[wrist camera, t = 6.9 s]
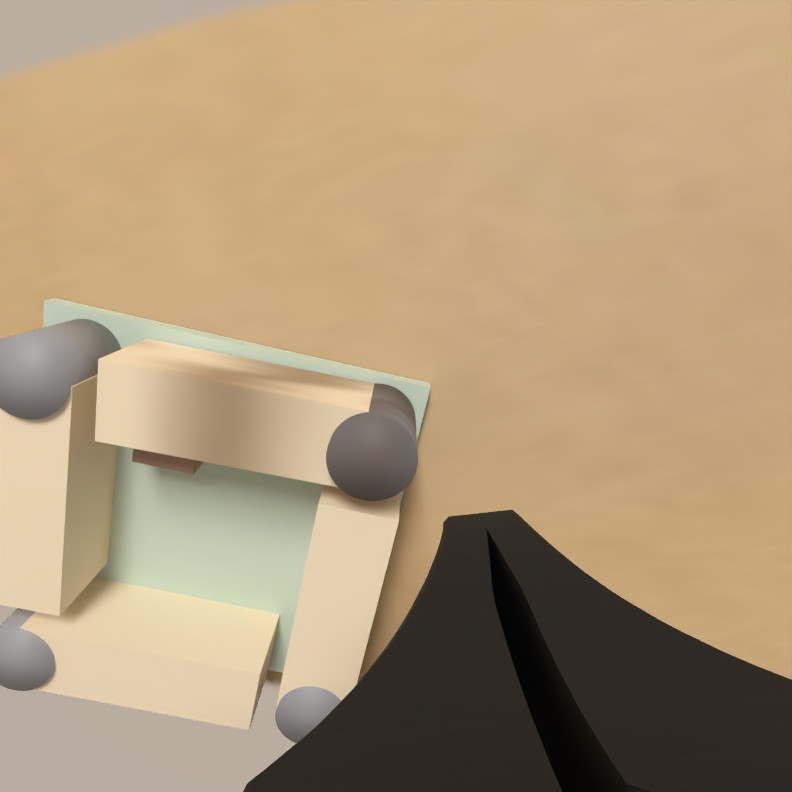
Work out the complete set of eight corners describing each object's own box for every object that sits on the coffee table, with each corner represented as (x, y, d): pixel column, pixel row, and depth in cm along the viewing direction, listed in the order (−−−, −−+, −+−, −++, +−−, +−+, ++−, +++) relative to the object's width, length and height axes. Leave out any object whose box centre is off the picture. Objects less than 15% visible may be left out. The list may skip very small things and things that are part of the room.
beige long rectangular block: (423, 391, 18) (426, 426, 15) (407, 461, 19) (407, 508, 16) (147, 336, 18) (90, 360, 15) (142, 409, 19) (86, 448, 16)
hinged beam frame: (354, 675, 23) (344, 759, 19) (41, 613, 22) (-31, 688, 19) (429, 383, 19) (435, 419, 15) (55, 298, 18) (-31, 314, 15)
